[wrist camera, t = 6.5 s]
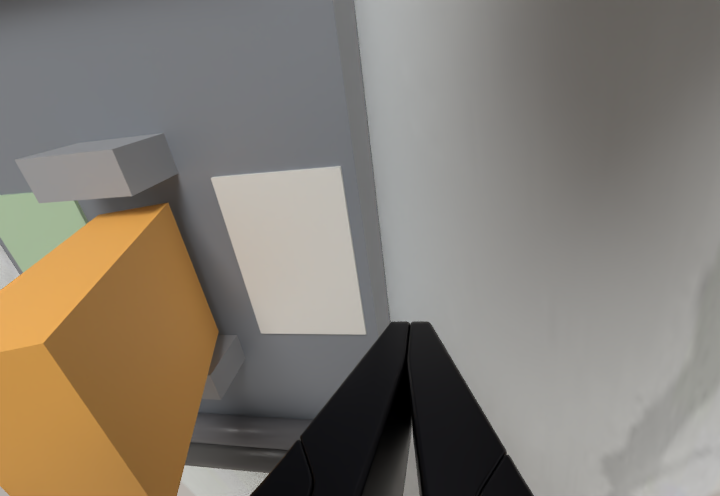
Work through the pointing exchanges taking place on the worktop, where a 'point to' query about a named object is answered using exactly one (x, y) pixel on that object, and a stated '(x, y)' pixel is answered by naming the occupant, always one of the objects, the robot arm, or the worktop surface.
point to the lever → (104, 361)
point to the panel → (211, 182)
